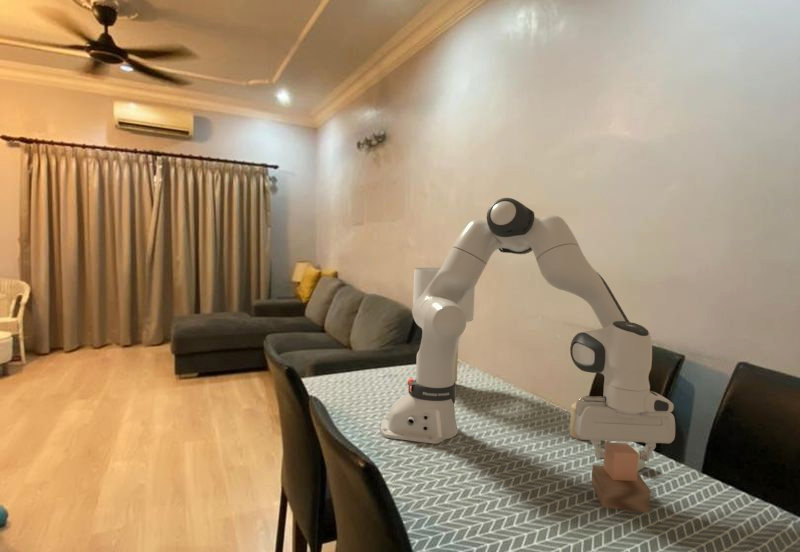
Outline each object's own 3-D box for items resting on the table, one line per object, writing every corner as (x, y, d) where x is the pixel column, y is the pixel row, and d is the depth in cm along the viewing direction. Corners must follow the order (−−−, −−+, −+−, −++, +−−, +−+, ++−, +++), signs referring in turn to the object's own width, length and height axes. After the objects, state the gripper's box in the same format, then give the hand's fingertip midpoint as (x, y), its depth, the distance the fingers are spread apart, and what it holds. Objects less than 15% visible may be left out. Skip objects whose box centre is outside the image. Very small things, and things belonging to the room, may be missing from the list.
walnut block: (603, 508, 93) (604, 485, 93) (591, 485, 102) (592, 464, 102) (649, 513, 92) (650, 490, 92) (633, 490, 101) (634, 468, 100)
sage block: (614, 464, 112) (615, 449, 112) (624, 459, 115) (625, 444, 115) (635, 473, 108) (636, 457, 108) (644, 467, 111) (645, 451, 111)
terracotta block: (613, 479, 95) (614, 452, 95) (603, 468, 100) (604, 442, 100) (636, 480, 95) (638, 453, 95) (625, 469, 100) (627, 443, 100)
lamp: (407, 376, 181) (410, 267, 177) (462, 376, 183) (466, 268, 180) (415, 396, 158) (419, 270, 155) (478, 395, 160) (482, 272, 157)
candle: (592, 441, 125) (594, 406, 124) (571, 439, 126) (573, 404, 125) (588, 433, 130) (590, 399, 129) (568, 431, 131) (570, 398, 131)
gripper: (582, 400, 94) (578, 464, 95) (681, 404, 93) (676, 468, 94) (572, 390, 100) (568, 450, 101) (665, 394, 99) (660, 454, 100)
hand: (621, 459), depth 98 cm, fingers open, 8 cm apart
